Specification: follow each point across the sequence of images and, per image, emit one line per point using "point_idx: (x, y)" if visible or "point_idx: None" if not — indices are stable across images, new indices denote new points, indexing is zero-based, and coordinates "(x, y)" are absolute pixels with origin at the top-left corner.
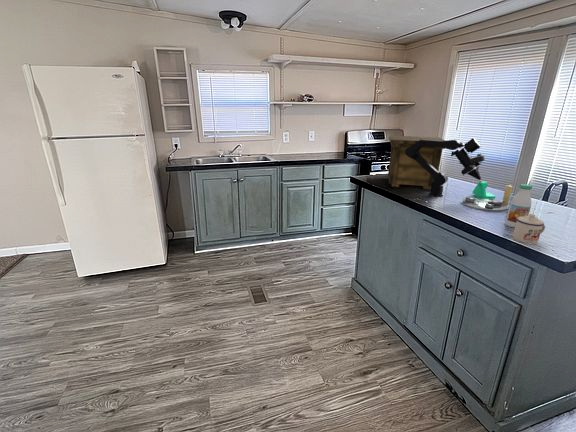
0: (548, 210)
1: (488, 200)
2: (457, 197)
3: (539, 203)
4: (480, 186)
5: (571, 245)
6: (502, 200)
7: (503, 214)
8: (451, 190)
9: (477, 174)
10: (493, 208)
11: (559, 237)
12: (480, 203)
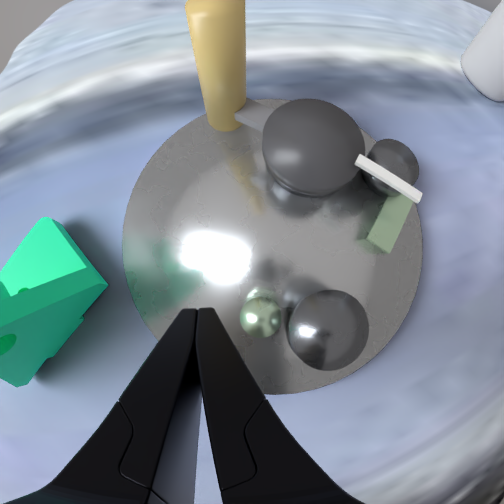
0: (124, 15)
1: (323, 184)
2: None
3: (22, 72)
4: (4, 339)
5: (470, 3)
6: (234, 110)
7: (387, 106)
8: None
9: (269, 409)
10: (369, 150)
11: (448, 4)
12: (313, 249)
